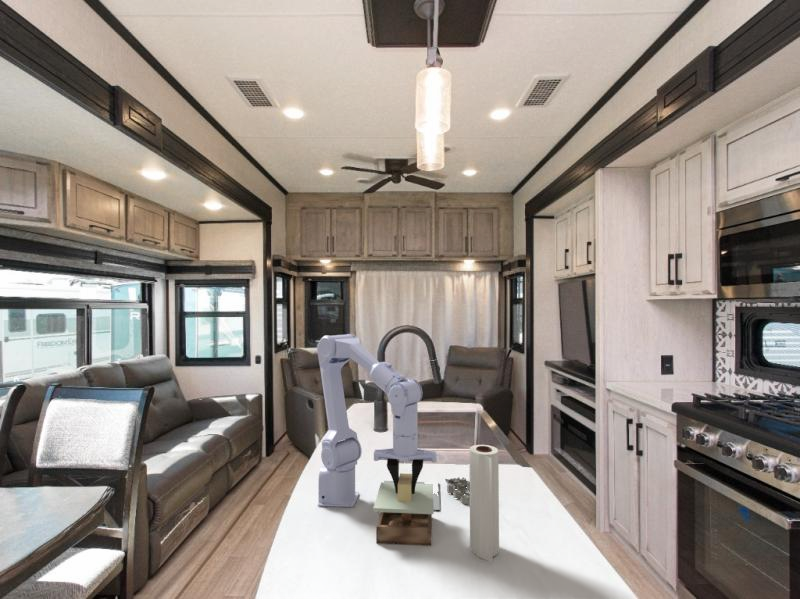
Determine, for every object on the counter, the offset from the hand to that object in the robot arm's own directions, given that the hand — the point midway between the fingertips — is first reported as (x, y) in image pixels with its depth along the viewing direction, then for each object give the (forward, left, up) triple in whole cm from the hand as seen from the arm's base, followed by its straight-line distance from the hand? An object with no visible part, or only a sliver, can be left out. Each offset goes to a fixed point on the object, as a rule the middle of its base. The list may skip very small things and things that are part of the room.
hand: (405, 491), depth 95 cm
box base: (0, 0, -9) cm, 9 cm away
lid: (0, 0, -2) cm, 2 cm away
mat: (0, +17, -9) cm, 19 cm away
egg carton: (+15, +18, -9) cm, 25 cm away
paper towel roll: (+17, -7, -9) cm, 20 cm away
